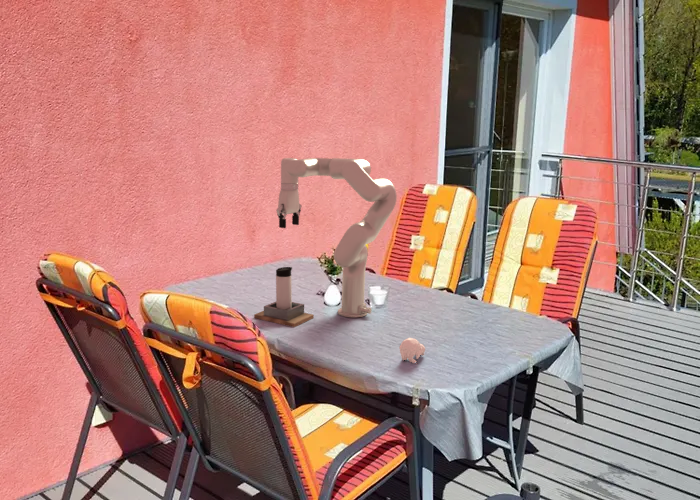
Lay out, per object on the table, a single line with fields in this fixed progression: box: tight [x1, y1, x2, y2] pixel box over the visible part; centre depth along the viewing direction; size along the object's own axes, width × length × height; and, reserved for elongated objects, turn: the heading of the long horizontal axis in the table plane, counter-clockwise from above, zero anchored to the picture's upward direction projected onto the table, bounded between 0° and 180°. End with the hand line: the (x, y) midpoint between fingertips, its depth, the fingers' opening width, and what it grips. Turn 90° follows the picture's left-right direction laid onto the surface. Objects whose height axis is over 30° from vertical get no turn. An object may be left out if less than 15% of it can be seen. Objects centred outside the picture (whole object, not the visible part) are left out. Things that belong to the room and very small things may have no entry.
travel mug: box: [275, 266, 293, 310], centre depth 276 cm, size 6×7×20 cm
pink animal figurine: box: [399, 337, 426, 364], centre depth 237 cm, size 6×8×12 cm
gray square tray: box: [263, 301, 305, 321], centre depth 277 cm, size 12×12×4 cm
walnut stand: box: [253, 310, 315, 328], centre depth 278 cm, size 20×14×2 cm
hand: (289, 226), depth 294 cm, fingers open, 9 cm apart
